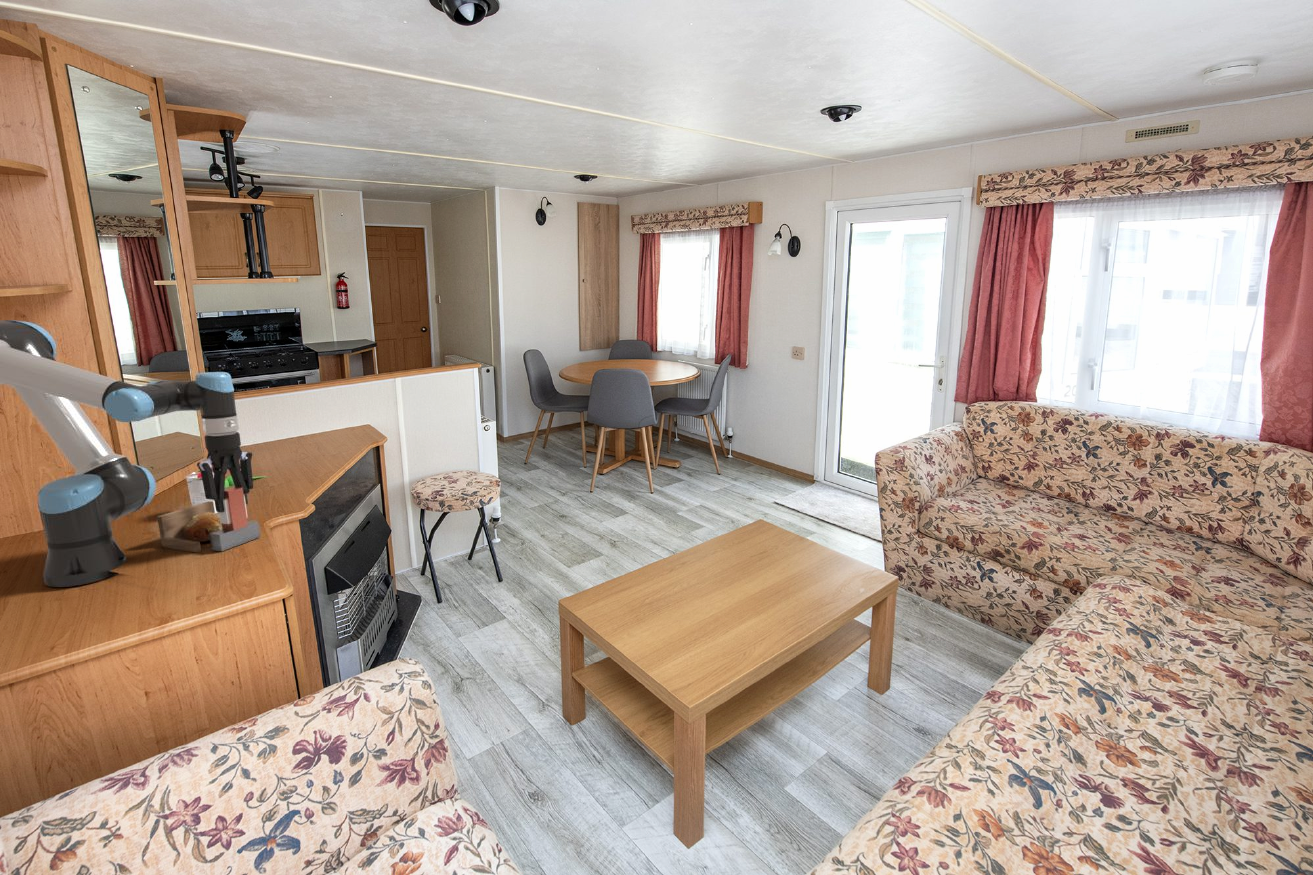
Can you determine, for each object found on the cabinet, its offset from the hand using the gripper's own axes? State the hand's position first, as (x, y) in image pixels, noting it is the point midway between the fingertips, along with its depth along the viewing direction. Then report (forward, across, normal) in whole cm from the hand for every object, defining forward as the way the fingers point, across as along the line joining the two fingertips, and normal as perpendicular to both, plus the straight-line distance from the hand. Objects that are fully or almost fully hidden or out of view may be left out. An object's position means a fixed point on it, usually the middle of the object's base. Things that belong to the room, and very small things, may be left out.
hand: (234, 520), depth 168 cm
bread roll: (+7, 0, +10) cm, 12 cm away
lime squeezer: (+7, +36, +44) cm, 57 cm away
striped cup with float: (+7, +17, +34) cm, 38 cm away
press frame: (+7, 0, +10) cm, 12 cm away
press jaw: (+7, 0, 0) cm, 7 cm away
